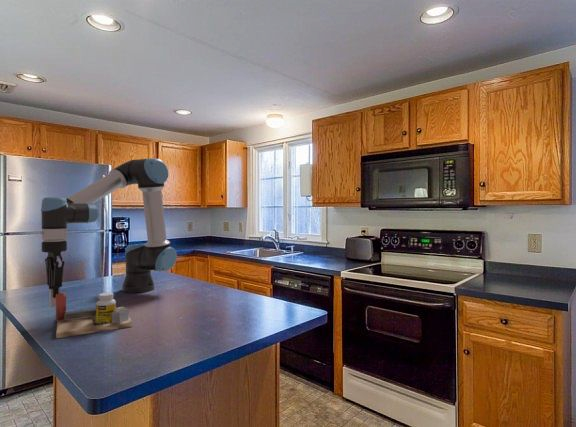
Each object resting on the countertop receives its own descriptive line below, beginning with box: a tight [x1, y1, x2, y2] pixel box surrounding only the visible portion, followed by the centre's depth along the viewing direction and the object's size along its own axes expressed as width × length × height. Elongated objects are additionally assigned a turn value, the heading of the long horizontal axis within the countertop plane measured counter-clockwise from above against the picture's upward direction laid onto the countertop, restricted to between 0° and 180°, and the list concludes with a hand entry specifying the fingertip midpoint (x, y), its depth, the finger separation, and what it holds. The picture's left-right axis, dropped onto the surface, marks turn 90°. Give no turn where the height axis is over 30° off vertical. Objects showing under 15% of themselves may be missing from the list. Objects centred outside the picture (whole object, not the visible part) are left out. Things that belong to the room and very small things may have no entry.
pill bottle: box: [95, 292, 117, 326], centre depth 124 cm, size 6×6×11 cm
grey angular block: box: [112, 307, 130, 329], centre depth 123 cm, size 5×3×6 cm, turn 172°
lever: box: [55, 292, 96, 322], centre depth 126 cm, size 16×4×9 cm, turn 122°
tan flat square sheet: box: [55, 306, 133, 339], centre depth 126 cm, size 22×22×2 cm
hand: (54, 306), depth 127 cm, fingers closed
